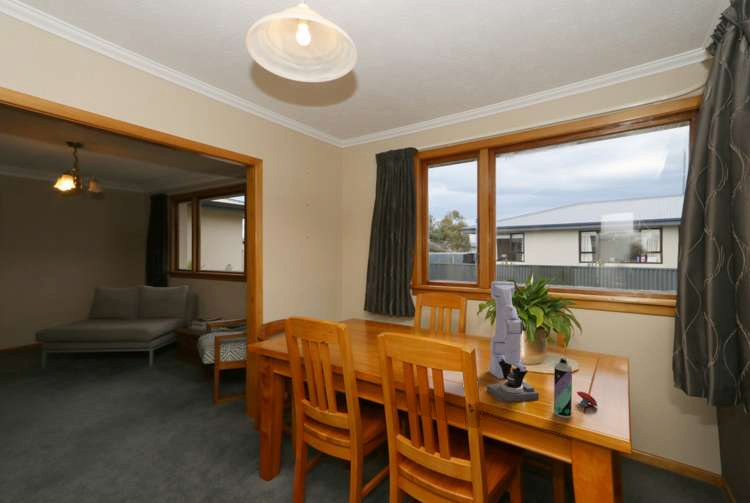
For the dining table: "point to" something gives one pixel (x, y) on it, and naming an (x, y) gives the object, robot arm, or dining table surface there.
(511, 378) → the lens
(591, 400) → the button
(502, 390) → the camera body
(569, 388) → the spray can
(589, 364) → the dining table surface
